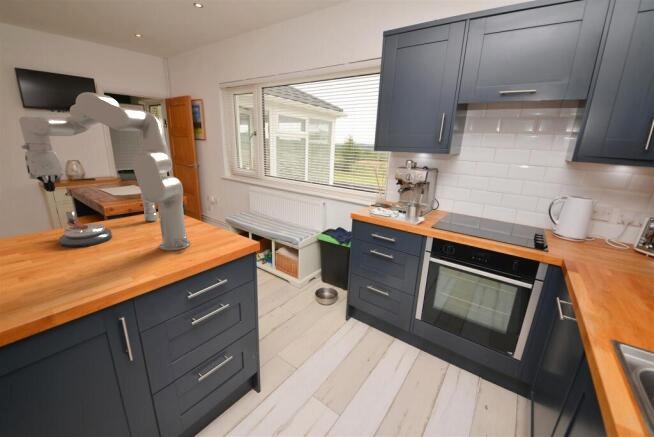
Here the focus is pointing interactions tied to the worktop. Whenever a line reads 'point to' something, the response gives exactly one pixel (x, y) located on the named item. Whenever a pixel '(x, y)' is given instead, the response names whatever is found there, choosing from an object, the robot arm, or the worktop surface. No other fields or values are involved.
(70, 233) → the crank handle wheel
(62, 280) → the worktop surface
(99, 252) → the worktop surface
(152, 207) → the plastic bottle
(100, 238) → the gray plate
